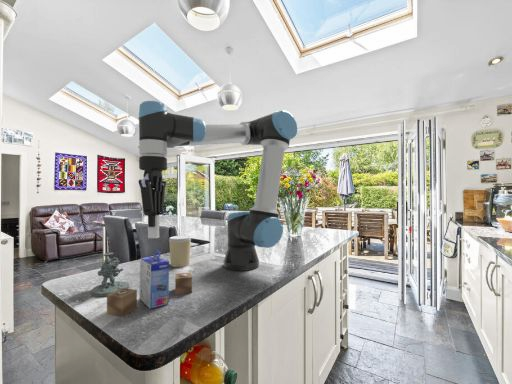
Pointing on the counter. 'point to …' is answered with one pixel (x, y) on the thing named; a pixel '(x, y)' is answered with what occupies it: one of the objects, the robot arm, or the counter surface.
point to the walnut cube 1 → (121, 302)
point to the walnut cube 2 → (183, 283)
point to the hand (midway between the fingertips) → (153, 237)
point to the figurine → (110, 272)
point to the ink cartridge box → (154, 281)
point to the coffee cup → (180, 250)
